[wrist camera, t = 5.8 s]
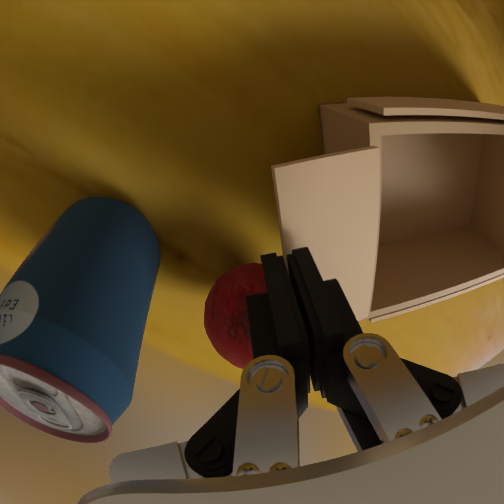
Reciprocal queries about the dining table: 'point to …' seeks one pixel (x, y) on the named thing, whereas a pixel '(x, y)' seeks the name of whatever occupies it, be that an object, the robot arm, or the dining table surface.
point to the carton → (428, 194)
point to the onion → (233, 312)
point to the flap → (333, 216)
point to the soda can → (78, 320)
